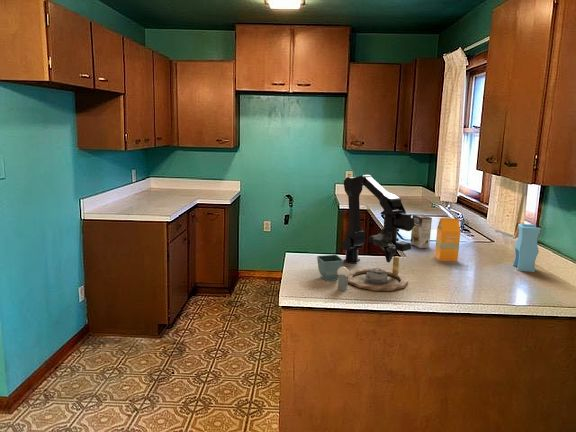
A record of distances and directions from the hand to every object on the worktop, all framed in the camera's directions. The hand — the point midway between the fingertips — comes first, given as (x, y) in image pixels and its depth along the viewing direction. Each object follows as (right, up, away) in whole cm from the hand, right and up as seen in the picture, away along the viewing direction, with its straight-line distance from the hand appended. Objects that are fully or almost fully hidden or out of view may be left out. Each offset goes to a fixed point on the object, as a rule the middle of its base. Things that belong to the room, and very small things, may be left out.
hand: (388, 262), depth 200 cm
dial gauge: (-22, -9, -17) cm, 29 cm away
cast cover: (-6, -7, -7) cm, 12 cm away
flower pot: (-26, -7, -5) cm, 27 cm away
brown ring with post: (-6, -7, -7) cm, 12 cm away
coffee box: (+28, +4, +51) cm, 58 cm away
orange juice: (+34, -1, +27) cm, 44 cm away
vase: (+65, -4, +14) cm, 66 cm away
